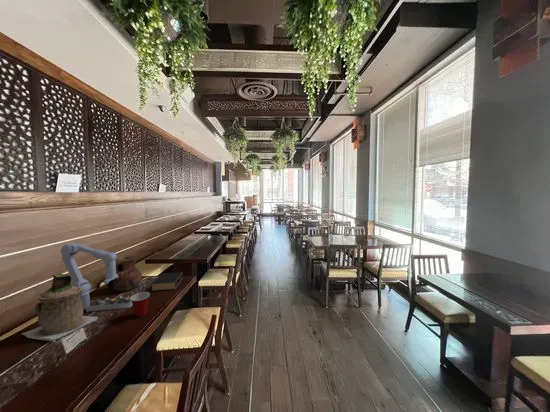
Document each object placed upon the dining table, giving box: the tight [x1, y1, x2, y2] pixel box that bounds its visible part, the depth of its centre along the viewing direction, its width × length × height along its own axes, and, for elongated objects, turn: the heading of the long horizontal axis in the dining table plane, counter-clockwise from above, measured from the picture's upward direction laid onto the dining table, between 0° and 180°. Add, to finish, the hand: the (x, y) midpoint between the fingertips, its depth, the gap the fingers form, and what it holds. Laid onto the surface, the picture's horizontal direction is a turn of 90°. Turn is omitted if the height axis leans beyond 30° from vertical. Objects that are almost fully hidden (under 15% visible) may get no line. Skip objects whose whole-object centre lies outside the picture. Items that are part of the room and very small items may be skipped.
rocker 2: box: [104, 297, 117, 303], centre depth 160 cm, size 5×3×2 cm, turn 100°
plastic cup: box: [129, 291, 151, 317], centre depth 149 cm, size 11×11×12 cm
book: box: [151, 271, 184, 292], centre depth 200 cm, size 17×25×7 cm
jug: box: [114, 255, 143, 292], centre depth 195 cm, size 22×21×25 cm
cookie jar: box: [21, 273, 98, 343], centre depth 136 cm, size 25×25×32 cm
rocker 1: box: [90, 298, 102, 305], centre depth 158 cm, size 5×3×2 cm, turn 100°
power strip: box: [85, 297, 133, 313], centre depth 161 cm, size 26×8×5 cm, turn 100°
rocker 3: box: [118, 295, 130, 301], centre depth 161 cm, size 5×3×2 cm, turn 100°
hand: (112, 290), depth 163 cm, fingers closed
